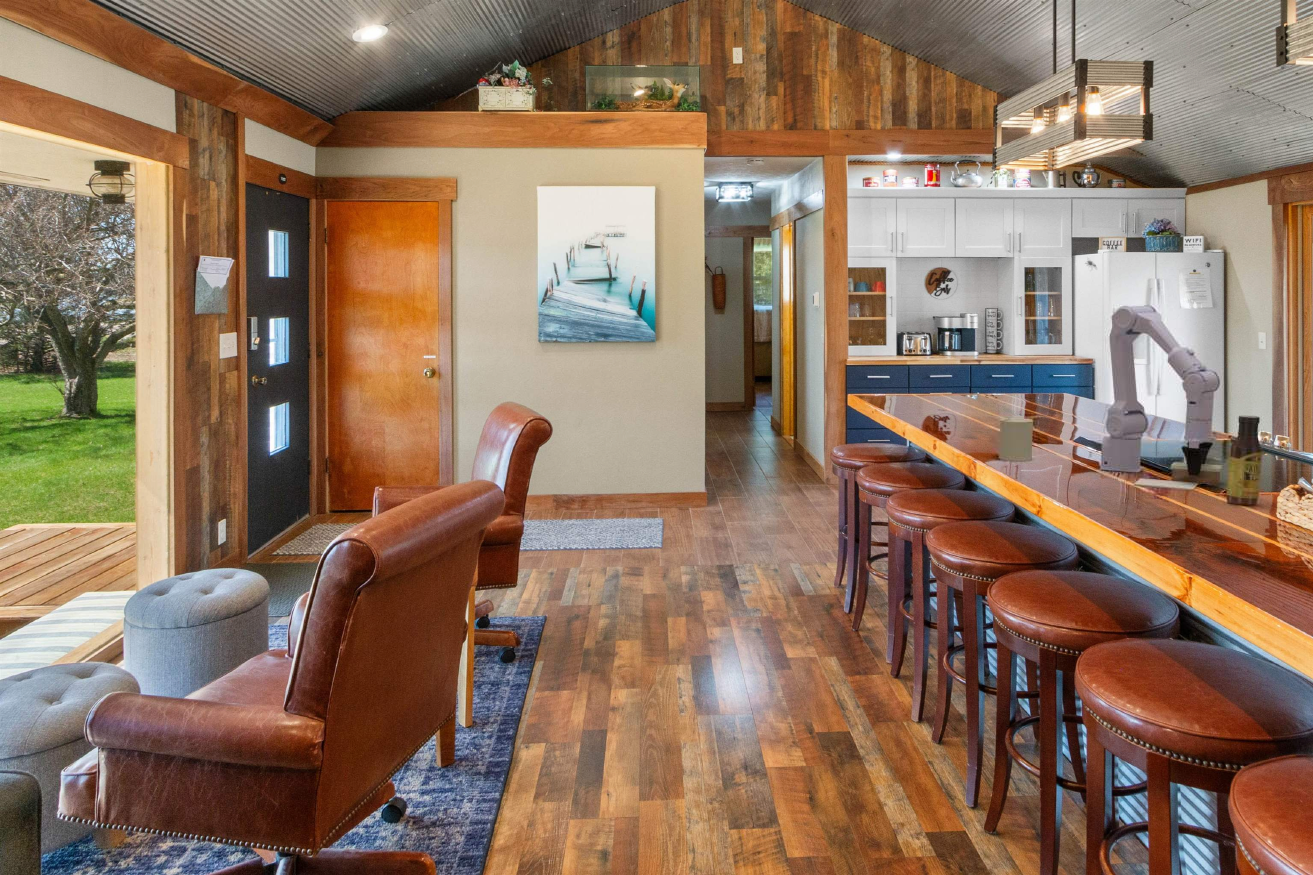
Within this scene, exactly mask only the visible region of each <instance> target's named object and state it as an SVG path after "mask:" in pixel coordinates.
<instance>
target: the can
mask: <svg viewBox="0 0 1313 875" xmlns="http://www.w3.org/2000/svg"><path fill="white" fill-rule="evenodd" d="M1033 429H1034V420H1033V419H1031V418H1023V417H1004V418H1000V420H999V451H998V452H999V454H998V459H999V460H1001V461H1005V462H1030V461H1032V460H1033V431H1034V430H1033Z"/></svg>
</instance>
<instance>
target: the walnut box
mask: <svg viewBox="0 0 1313 875" xmlns="http://www.w3.org/2000/svg"><path fill="white" fill-rule="evenodd" d="M1220 476H1221V471H1220V472H1211V471H1200V473H1199V475H1198V476H1194V475H1189V473H1188V470H1185V469H1171V480H1170V481H1178V482H1190V483H1198V485H1201V484H1207V485H1206V486H1213V485H1217V486H1218V485H1219V484H1220ZM1218 483H1219V484H1218Z"/></svg>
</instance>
